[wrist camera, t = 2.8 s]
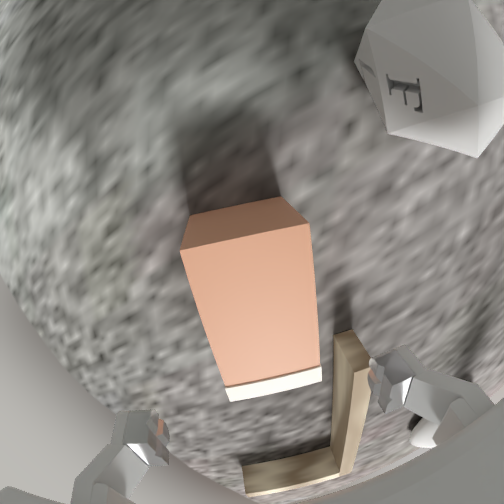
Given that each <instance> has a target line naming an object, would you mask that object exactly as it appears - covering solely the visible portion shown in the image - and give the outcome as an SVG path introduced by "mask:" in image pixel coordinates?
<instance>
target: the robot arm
mask: <svg viewBox="0 0 504 504" xmlns="http://www.w3.org/2000/svg"><path fill="white" fill-rule="evenodd" d="M369 366H370V368H371V369H370V371H369V372H368V377H367V379H368V385H369V387H370V390H371V391H372V393H373V394H374V395H376V396H379V399H378V403H379V405H380V407H381V408H382V410H383V412H384V413H385V414H387V413H389V412H391V411H394V410H396V409H398V408H401V407H403V406H404V407H405V408H406V409H408V410H410V411H412V412H414V413H416V414H417V415H419V416H421V417H423V418H425V419H427V420H429V421H431V422H433V423H435V424H436V425H438V428H437V430H436V431H435V433H434V435H433V438H432V439H433V440H434V442H435V444H436V445H437V446H436V447H434V448H432V449H430V450H429V451H427V452H425V453H423V454H422V455H420V456H418V457H416V458H414V459H412V460H410V461H408V462H407V463H404V464H403V465H400V466H398V467H396V468H394V469H392V470H390V471H388V472H386V473H384V474H381V475H379V476H376V477H374V478H372V479H369V480H367V481H365V482H362V483H359V484H357V485H354V486H351V487H349V488H346V489H343V490H340V491H337V492H334V493H331V494H328V495H324V496H321V497H318V498H314V499H310V500H307V501H303V502H299V503H295V504H504V398H503V399H501V400H500V401H499V402H498V403H497V404H496V405H494V403H493V402H492V401H491V400H490V398H489V397H488V396H487V395H486V394H485V393H484V391H483V390H482V389H481V388H480V387H479V386H478V384H474V383H471V382H468V381H465V380H462V379H459V378H456V377H453V376H450V375H447V374H444V373H441V372H438V371H435V370H433V369H429V370H427V369H426V368H425V367H424V365H423V364H422V363H421V362H420V361H419V359H418V358H417V357H416V356H415V355H414V353H413V352H412V351H411V350H410V349H409V348H408V346H406V345H402V346H400V347H397V348H395V349H392V350H389V351H387V352H385V353H382V354H380V355H377V356H375V357H372V358H371V359H370V360H369ZM168 443H169V430H168V427H167V425H166V423H165V422H164V421H163V420H161V419H159V414H158V412H157V411H156V410H155V409H154V410H135V411H119V412H118V413H117V415H116V419H115V424H114V429H113V434H112V439H111V444H107V446H106V447H105V448H104V449H103V450H102V451H101V452H100V453H99V454H98V455H97V456H96V457H95V458H94V460H92V462H91V463H90V464H89V465H88V466H87V467H86V468H85V469H84V470H83V471H82V472H81V473H80V474H79V476H77V477H76V479H75V482H74V487H73V492H72V498H71V504H135V503H134V502H132V501H130V500H129V498H130V496H131V495H132V493H133V492H134V490H135V489H136V487H137V485H138V484H139V482H140V481H141V479H142V478H143V476H144V475H145V473H146V471H147V470H148V468H149V466H162V465H169V451H168V449H167V448H166V446H167V444H168ZM0 504H64V503H60V502H56V501H52V500H49V499H46V498H42V497H39V496H36V495H33V494H30V493H27V492H25V491H22V490H19V489H17V488H14V487H9V486H8V487H5V488H3V489H2V490H1V491H0Z"/></svg>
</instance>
